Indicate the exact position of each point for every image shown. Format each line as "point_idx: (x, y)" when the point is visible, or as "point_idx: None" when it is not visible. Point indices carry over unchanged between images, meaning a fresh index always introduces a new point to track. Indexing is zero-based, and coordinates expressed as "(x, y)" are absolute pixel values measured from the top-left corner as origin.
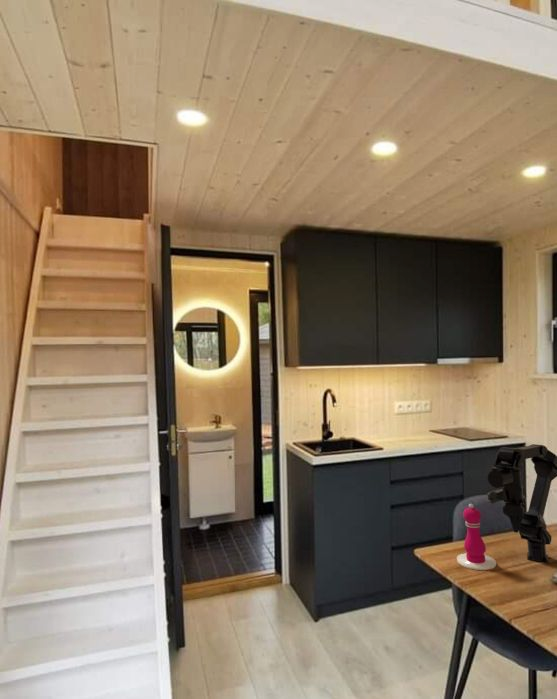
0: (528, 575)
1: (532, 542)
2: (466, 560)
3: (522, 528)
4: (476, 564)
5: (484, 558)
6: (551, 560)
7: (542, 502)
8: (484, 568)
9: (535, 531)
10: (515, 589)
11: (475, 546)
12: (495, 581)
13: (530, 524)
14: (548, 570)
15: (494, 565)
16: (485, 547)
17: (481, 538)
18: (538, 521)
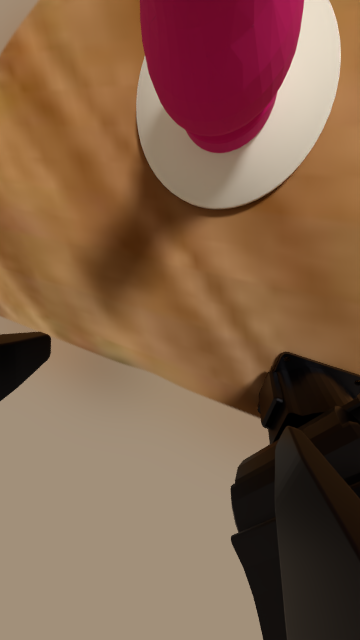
0: (138, 310)
1: (291, 421)
2: None
3: (321, 447)
4: None
5: (199, 142)
6: None
7: None
8: (143, 147)
9: (238, 493)
10: (35, 246)
11: (141, 29)
12: (64, 189)
13: (277, 534)
14: (190, 383)
15: (178, 196)
16: (202, 126)
17: (183, 49)
18: (266, 623)
